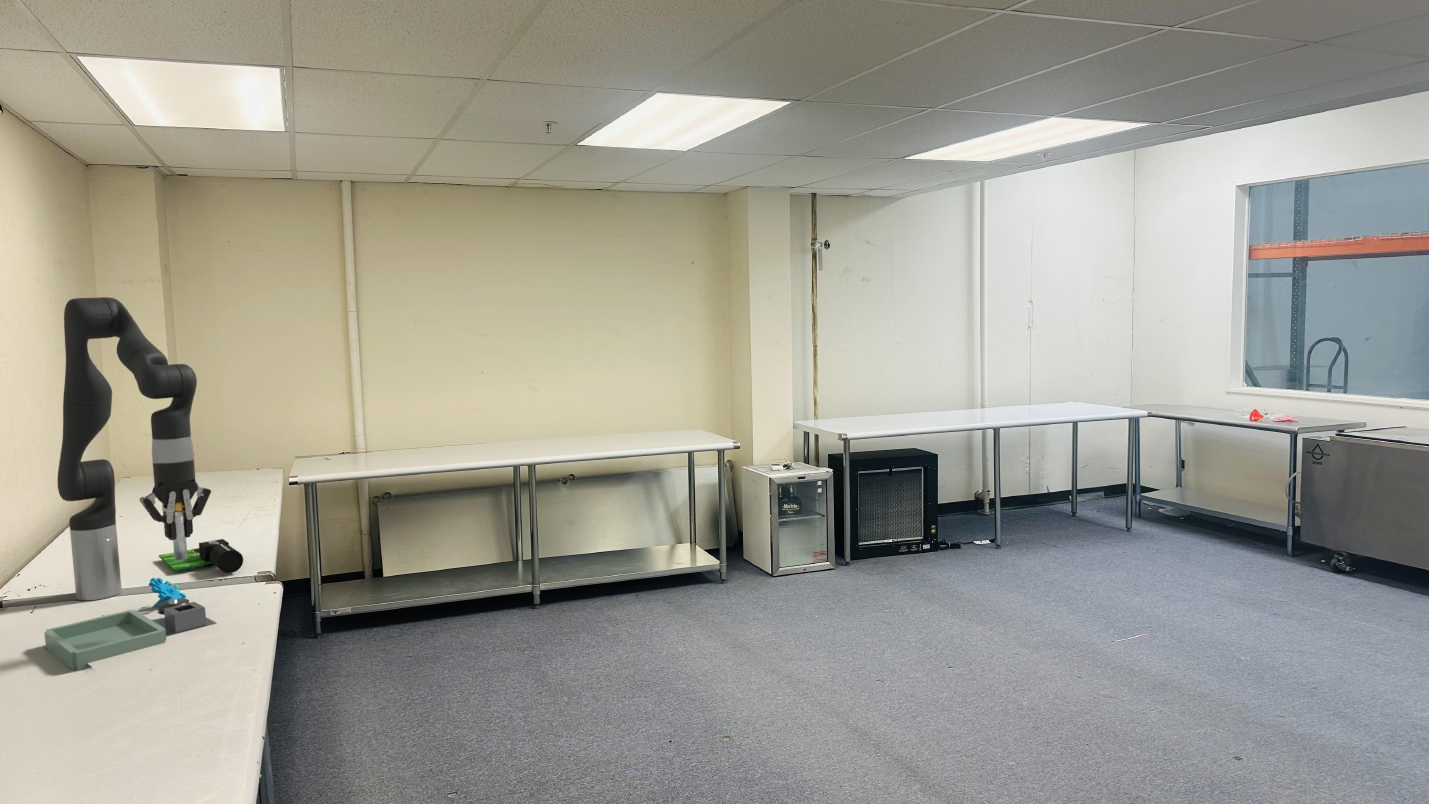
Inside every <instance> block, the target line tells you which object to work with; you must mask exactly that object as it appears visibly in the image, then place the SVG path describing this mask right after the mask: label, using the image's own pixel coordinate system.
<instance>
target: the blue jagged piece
mask: <svg viewBox="0 0 1429 804" xmlns="http://www.w3.org/2000/svg"><path fill="white" fill-rule="evenodd" d="M163 581H164V580H163V579H162V578H161V577H157V578H156V577H152V578H151V579H150V580H149V583H148V586H149V587H151V591H152V592H153V593H155V594H158V595H157V597H158V598H159V600H158V601H156V603H154V604H153V606H152V608H155V607H156V608H158V607H157V605H158V604H159V603H161V602H164V601H167V600H170V599H187V595H186V594H185V593H184V592H180V591H181V589H180V586H179V585H178V584H175V585H174V586H173V587H172V586H171V585H172V583H171V582H170V581H168V580H166V581H165V582H163Z"/></svg>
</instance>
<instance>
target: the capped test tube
mask: <svg viewBox="0 0 1429 804" xmlns="http://www.w3.org/2000/svg"><path fill="white" fill-rule="evenodd" d="M173 523H174V526H175V540H172V543H173V544H172V546H173V553H174V560H184V559H187V550H188V549H187V548H188V546H187V538H186V531H185V517H184V505H183V503H182V502H178V503H175V510H174V513H173Z"/></svg>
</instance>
